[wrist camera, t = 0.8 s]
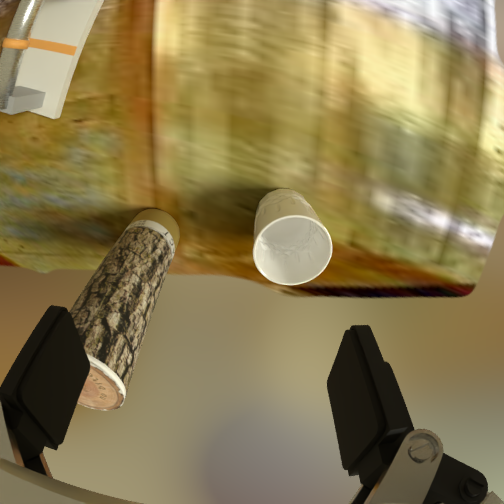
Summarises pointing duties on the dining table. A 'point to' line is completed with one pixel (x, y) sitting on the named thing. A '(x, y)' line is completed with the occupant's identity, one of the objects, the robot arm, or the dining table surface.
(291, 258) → the white cup
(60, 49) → the orange strap
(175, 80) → the dining table surface
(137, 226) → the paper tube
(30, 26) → the pipe
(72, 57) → the pipe stand
